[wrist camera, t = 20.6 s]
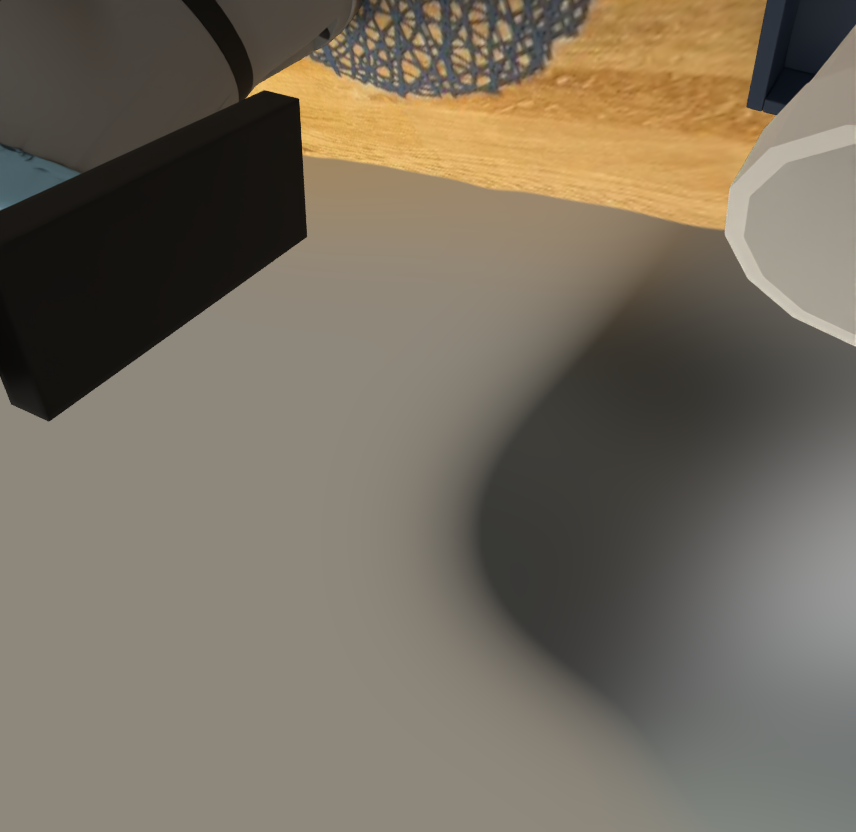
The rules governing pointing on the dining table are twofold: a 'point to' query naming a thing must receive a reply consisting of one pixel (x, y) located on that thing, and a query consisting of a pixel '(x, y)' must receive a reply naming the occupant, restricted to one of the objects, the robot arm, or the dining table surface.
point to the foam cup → (804, 202)
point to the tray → (796, 47)
